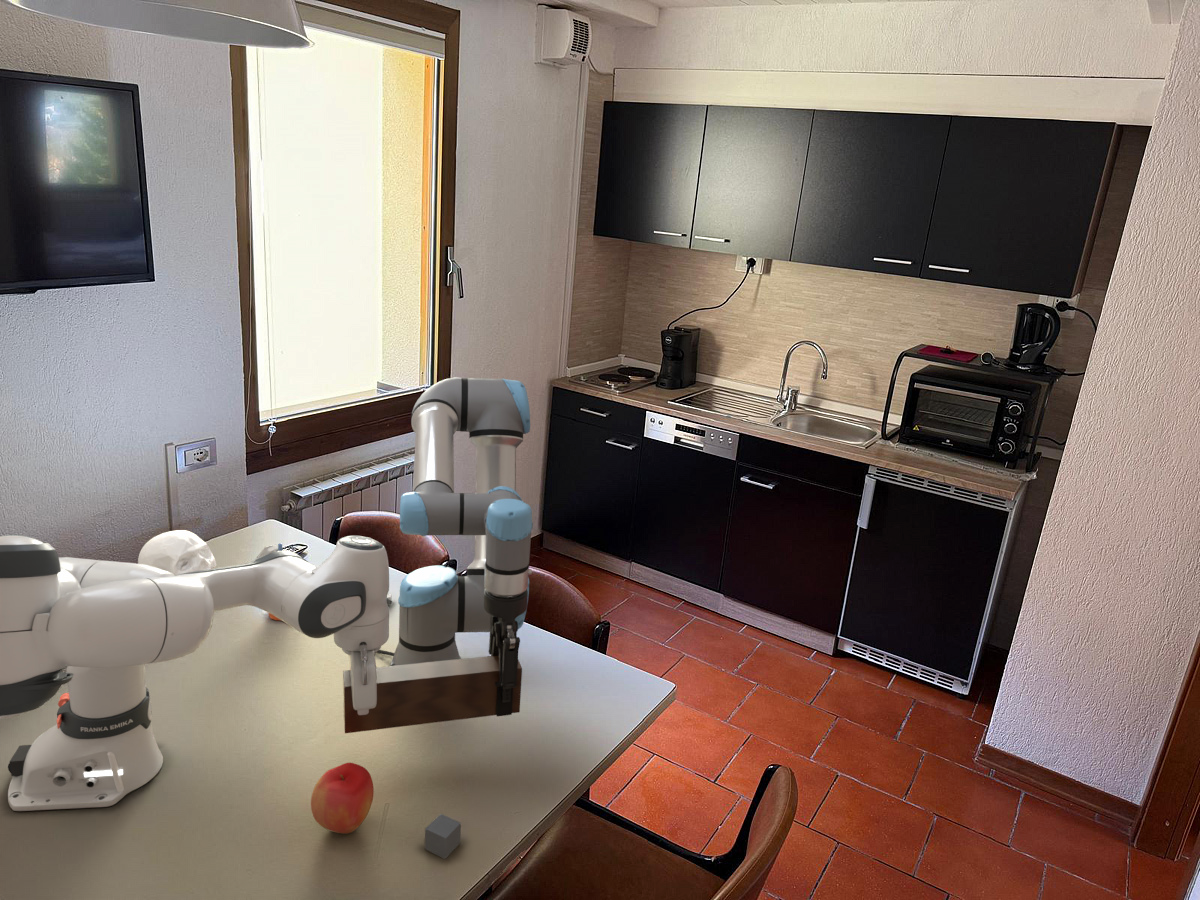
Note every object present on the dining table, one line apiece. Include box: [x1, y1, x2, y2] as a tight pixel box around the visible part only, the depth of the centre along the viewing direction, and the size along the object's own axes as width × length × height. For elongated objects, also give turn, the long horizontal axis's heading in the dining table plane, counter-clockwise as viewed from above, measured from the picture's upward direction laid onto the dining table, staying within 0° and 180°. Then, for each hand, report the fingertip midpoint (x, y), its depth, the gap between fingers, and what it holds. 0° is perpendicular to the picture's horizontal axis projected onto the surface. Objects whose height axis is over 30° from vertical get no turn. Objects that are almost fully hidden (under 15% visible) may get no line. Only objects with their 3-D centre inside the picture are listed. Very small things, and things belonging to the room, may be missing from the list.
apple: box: [310, 762, 375, 834], centre depth 137 cm, size 10×10×10 cm
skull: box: [137, 529, 217, 576], centre depth 205 cm, size 13×22×16 cm, turn 73°
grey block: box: [424, 813, 462, 860], centre depth 136 cm, size 4×4×4 cm
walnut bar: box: [342, 655, 523, 734], centre depth 149 cm, size 30×5×9 cm, turn 108°
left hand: (361, 701), depth 145 cm, fingers closed on walnut bar, 5 cm apart
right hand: (500, 704), depth 154 cm, fingers closed on walnut bar, 5 cm apart
